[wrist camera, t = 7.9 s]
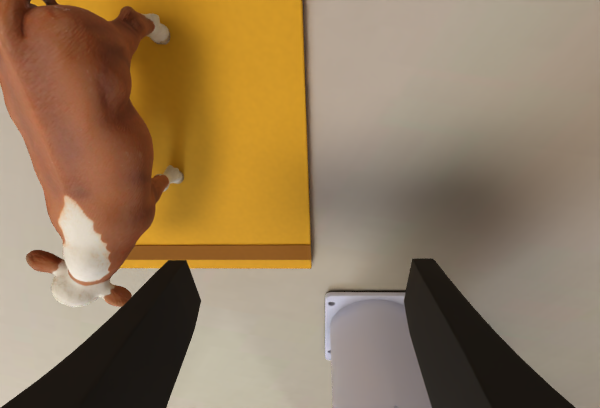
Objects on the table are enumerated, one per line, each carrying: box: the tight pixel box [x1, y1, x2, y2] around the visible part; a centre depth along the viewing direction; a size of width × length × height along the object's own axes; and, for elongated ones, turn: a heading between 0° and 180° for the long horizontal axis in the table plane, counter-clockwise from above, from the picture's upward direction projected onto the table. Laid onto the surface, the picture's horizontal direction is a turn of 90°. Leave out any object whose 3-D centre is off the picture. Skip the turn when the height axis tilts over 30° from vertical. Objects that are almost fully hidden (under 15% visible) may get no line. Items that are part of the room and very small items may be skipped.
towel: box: [30, 0, 311, 268], centre depth 18 cm, size 20×15×1 cm
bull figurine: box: [0, 0, 184, 307], centre depth 14 cm, size 4×13×8 cm, turn 168°
